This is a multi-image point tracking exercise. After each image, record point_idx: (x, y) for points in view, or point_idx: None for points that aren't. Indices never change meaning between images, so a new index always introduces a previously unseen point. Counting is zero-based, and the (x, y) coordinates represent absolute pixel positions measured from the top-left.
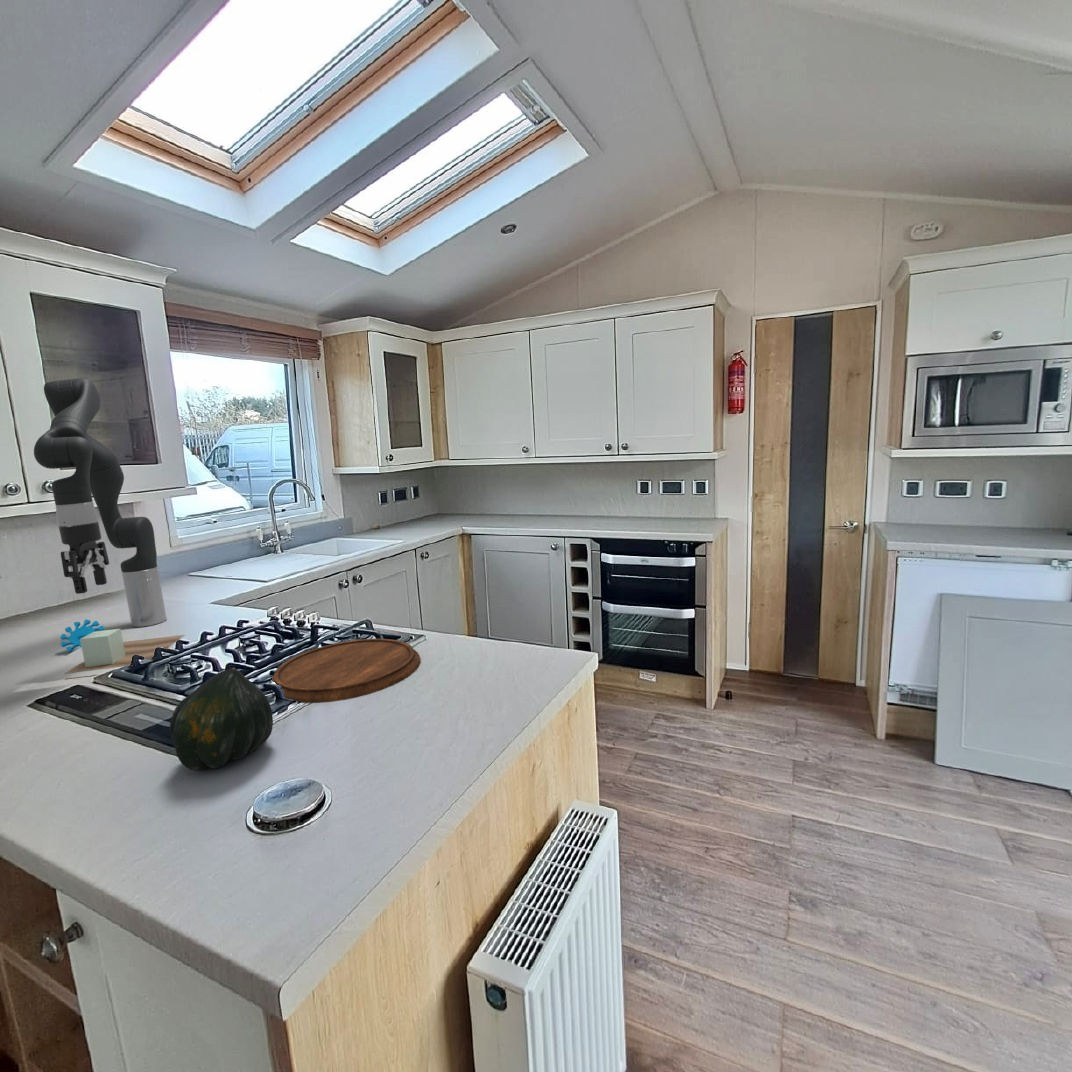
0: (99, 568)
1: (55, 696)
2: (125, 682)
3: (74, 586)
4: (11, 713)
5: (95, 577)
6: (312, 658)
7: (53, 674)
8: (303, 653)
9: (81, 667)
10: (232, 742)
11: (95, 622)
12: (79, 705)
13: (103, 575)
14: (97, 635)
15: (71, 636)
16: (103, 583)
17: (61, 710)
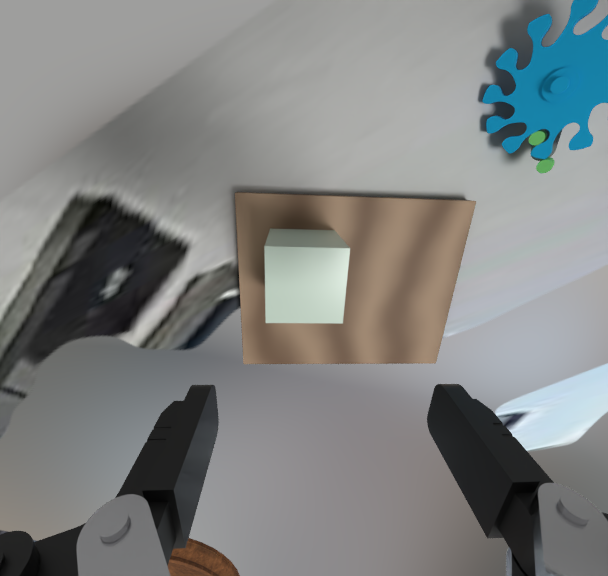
0: (513, 538)
1: (123, 233)
2: (176, 344)
3: (151, 435)
4: (31, 184)
5: (468, 429)
6: (174, 574)
7: (296, 127)
8: (193, 567)
9: (270, 218)
10: None
11: None
12: (64, 314)
13: (457, 482)
14: (288, 286)
15: (569, 42)
16: (430, 421)
17: (42, 292)
